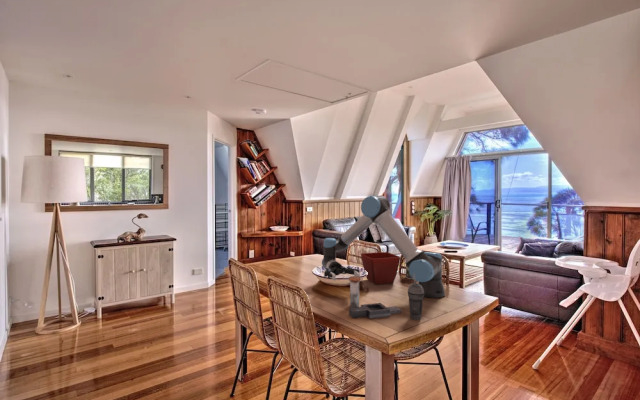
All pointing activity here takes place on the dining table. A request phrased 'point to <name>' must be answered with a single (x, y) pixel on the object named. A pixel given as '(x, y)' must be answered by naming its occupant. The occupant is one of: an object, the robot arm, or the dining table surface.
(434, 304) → the dining table surface
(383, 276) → the plant pot
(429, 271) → the robot arm
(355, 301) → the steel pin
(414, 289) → the beverage cup
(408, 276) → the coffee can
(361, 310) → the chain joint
